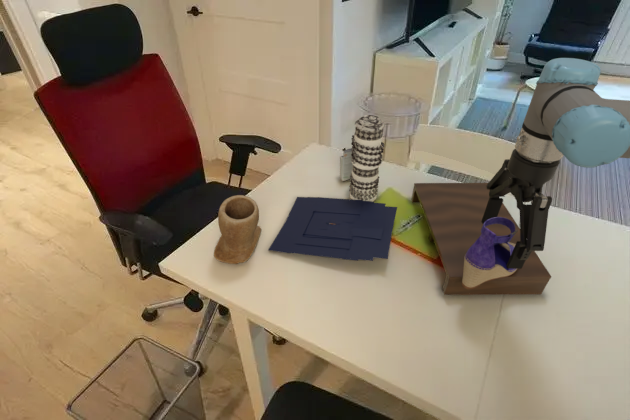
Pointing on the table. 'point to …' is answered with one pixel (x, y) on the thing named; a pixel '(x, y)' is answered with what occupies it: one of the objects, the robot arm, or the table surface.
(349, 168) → the ink box
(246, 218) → the stone cup
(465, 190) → the walnut wood board
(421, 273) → the table surface
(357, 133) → the decorative candle
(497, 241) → the sandal
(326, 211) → the papers
